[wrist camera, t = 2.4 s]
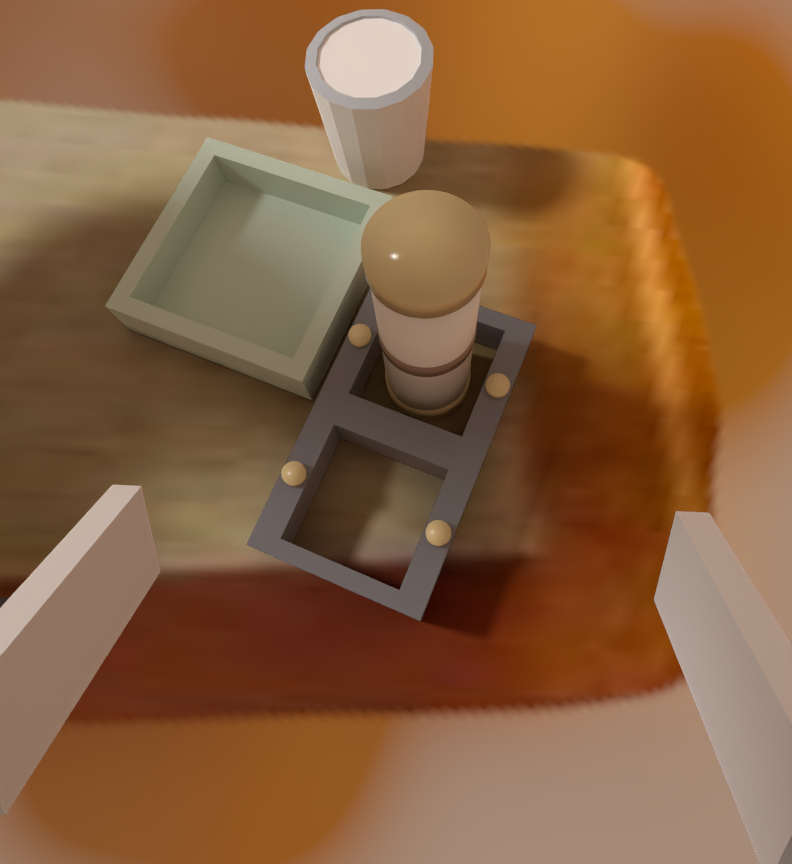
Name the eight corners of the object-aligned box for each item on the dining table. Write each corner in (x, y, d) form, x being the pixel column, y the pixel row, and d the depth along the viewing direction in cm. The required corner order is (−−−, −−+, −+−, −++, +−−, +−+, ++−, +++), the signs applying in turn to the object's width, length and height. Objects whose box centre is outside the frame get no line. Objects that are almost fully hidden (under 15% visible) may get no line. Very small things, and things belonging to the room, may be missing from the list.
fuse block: (260, 550, 32) (243, 543, 30) (382, 294, 36) (377, 266, 34) (420, 621, 31) (420, 621, 28) (529, 345, 35) (537, 321, 32)
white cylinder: (445, 117, 40) (447, 15, 33) (419, 206, 38) (416, 117, 31) (342, 101, 41) (324, -2, 34) (312, 187, 39) (287, 97, 32)
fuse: (373, 402, 34) (340, 277, 22) (405, 331, 36) (390, 175, 23) (451, 431, 34) (462, 320, 21) (481, 358, 35) (508, 211, 22)
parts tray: (128, 329, 37) (104, 306, 34) (222, 169, 40) (207, 137, 37) (312, 400, 35) (302, 381, 32) (396, 227, 38) (393, 196, 35)
